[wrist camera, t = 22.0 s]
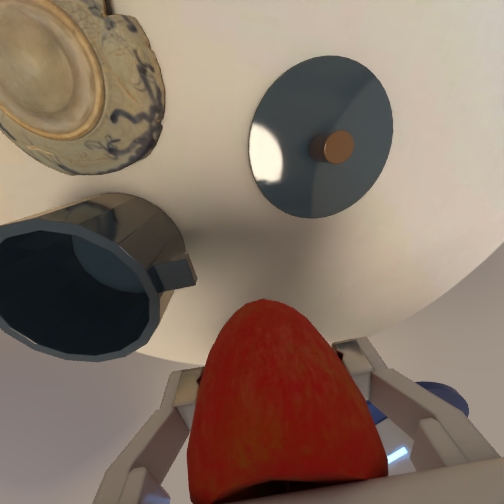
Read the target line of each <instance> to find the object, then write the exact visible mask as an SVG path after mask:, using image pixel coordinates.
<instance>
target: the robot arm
mask: <svg viewBox="0 0 504 504" xmlns="http://www.w3.org/2000/svg"><path fill="white" fill-rule="evenodd" d="M332 349H333V350H334V352H335V353H336V354H337V356H338V357H339V358H340V360H341V362H342V363H343V365H344V366H345V368H346V369H347V371H348V373H349V374H350V376H351V377H352V379H353V380H354V382H355V384H356V385H357V387H358V388H359V390H360V391H361V393H362V395H363V396H364V398H365V401H366V400H370V402H371V403H372V404H373V405H374V406H376V407H377V408H378V409H379V410H380V411H381V412H382V413H383V414H385V415H386V416H387V417H388V418H386V419H384V420H383V421H381V422H379V423H378V424H377V425H375V426H376V428H377V431H378V433H379V436H380V438H381V441H382V444H383V447H384V450H385V452H386V455H387V458H388V476H386V477H379V478H373V479H368V480H361V481H355V482H349V483H343V484H337V485H331V486H325V487H319V488H312V489H306V490H300V491H294V492H288V493H282V494H276V495H270V496H264V497H258V498H251V499H245V500H239V501H233V502H227V503H221V504H504V457H500V455H499V454H498V453H497V452H496V451H495V450H494V448H493V447H492V446H491V445H490V444H489V443H488V441H487V440H486V439H485V438H484V437H483V435H482V434H481V433H480V432H479V431H478V430H477V428H476V427H475V426H474V425H473V424H472V423H471V422H470V420H469V419H468V418H467V417H466V416H465V414H464V413H463V412H462V411H460V410H459V409H457V408H456V407H454V406H452V405H451V404H449V403H447V402H446V401H444V400H443V399H441V398H439V397H438V396H436V395H434V394H433V393H431V392H430V391H428V390H426V389H425V388H423V387H421V386H420V385H418V384H417V383H415V382H413V381H412V380H410V379H408V378H407V377H405V376H403V375H402V374H400V373H399V372H397V371H395V370H394V369H388V368H387V366H386V364H385V363H384V362H383V360H382V359H381V357H380V356H379V354H378V353H377V351H376V350H375V349H374V347H373V346H372V344H371V343H370V341H369V340H368V338H366V337H361V338H356V339H349V340H344V341H339V342H334V343H332ZM204 368H205V367H198V368H192V369H185V370H179V371H174V372H172V373H171V374H170V376H169V379H168V383H167V386H166V389H165V393H164V396H163V399H162V403H161V406H160V409H159V410H156V411H155V412H154V414H153V415H152V416H151V417H150V418H149V420H148V421H147V422H146V423H145V424H144V426H143V427H142V428H141V429H140V431H139V432H138V433H137V434H136V435H135V437H134V438H133V439H132V440H131V442H130V443H129V444H128V445H127V446H126V447H125V449H124V450H123V451H122V452H121V454H120V455H119V456H118V457H117V459H116V460H115V461H114V462H113V463H112V464H111V466H110V467H109V468H108V469H107V471H106V472H105V475H104V477H103V479H102V482H101V484H100V486H99V489H98V491H97V494H96V496H95V499H94V501H93V503H92V504H169V503H170V496H169V494H168V493H167V492H166V491H165V490H164V489H163V487H162V486H161V483H162V482H163V480H164V478H165V476H166V474H167V472H168V471H169V469H170V467H171V465H172V464H173V462H174V460H175V458H176V456H177V455H178V453H179V451H180V449H181V447H182V446H183V444H184V442H185V440H186V439H187V437H188V435H189V431H191V427H192V421H193V416H194V411H195V405H196V400H197V394H198V389H199V385H200V381H201V378H202V375H203V371H204Z"/></svg>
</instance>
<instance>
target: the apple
mask: <svg viewBox="0 0 504 504" xmlns="http://www.w3.org/2000/svg"><path fill="white" fill-rule="evenodd" d="M187 466H188V481H189V492H190V499H191V502H192V503H193V504H221V503H227V502H233V501H239V500H245V499H251V498H258V497H264V496H270V495H276V494H282V493H288V492H294V491H300V490H306V489H312V488H319V487H325V486H331V485H337V484H343V483H349V482H355V481H361V480H368V479H373V478H379V477H386V476H388V458H387V455H386V452H385V450H384V447H383V444H382V441H381V438H380V436H379V433H378V431H377V428H376V426H375V423H374V421H373V418H372V416H371V413H370V411H369V408H368V406H367V403H366V401H365V398H364V396H363V395H362V393H361V391H360V390H359V388H358V387H357V385H356V384H355V382H354V380H353V379H352V377H351V376H350V374H349V373H348V371H347V369H346V368H345V366H344V365H343V363H342V362H341V360H340V358H339V357H338V356H337V354H336V353H335V352H334V350H333V349H332V348H331V347H330V345H329V344H328V343H327V342H326V340H325V339H324V338H323V337H322V335H321V334H320V333H319V332H318V331H317V330H316V328H315V327H314V326H313V325H312V324H311V322H310V321H309V320H308V319H307V318H306V317H305V316H303V315H302V314H301V313H299V312H298V311H297V310H295V309H294V308H292V307H290V306H288V305H286V304H283V303H281V302H278V301H272V300H266V299H260V300H257V301H253V302H250V303H247V304H245V305H244V306H243V307H241V308H240V309H239V310H238V311H236V312H235V313H234V314H233V316H232V317H231V318H230V319H229V320H228V322H227V323H226V324H225V325H224V327H223V328H222V330H221V331H220V333H219V335H218V337H217V339H216V341H215V342H214V344H213V346H212V348H211V350H210V352H209V355H208V358H207V361H206V365H205V368H204V371H203V375H202V378H201V381H200V385H199V389H198V394H197V400H196V405H195V411H194V416H193V421H192V427H191V432H190V437H189V443H188V448H187Z"/></svg>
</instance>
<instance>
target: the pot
mask: <svg viewBox="0 0 504 504" xmlns="http://www.w3.org/2000/svg"><path fill="white" fill-rule="evenodd" d="M196 282H197V276H196V273H195V270H194V268H193V265H192V262H191V260H190V257H189V254H185V245H184V241H183V238H182V236H181V234H180V231H179V230H178V228H177V226H176V225H175V224H174V222H173V221H172V220H171V219H170V218H169V217H168V216H167V214H166V213H164V212H163V211H162V210H161V209H159V208H158V207H157V206H155V205H153V204H152V203H150V202H148V201H146V200H144V199H142V198H139V197H136V196H132V195H128V194H121V193H106V194H101V195H98V196H93V197H89V198H85V199H82V200H79V201H76V202H72V203H69V204H66V205H63V206H60V207H57V208H53V209H50V210H47V211H44V212H41V213H38V214H34V215H31V216H28V217H25V218H22V219H19V220H15V221H12V222H9V223H6V224H3V225H0V328H1V330H2V331H4V332H5V333H7V334H8V335H10V336H12V337H13V338H15V339H17V340H18V341H20V342H22V343H24V344H25V345H27V346H29V347H30V348H32V349H34V350H36V351H39V352H42V353H46V354H49V355H52V356H55V357H58V358H62V359H65V360H74V361H88V362H89V361H90V362H102V361H107V360H112V359H117V358H122V357H126V356H127V355H129V354H131V353H132V352H134V351H136V350H137V349H139V348H140V347H142V346H144V345H145V344H147V343H148V341H149V340H150V338H151V336H152V335H153V333H154V332H155V330H156V328H157V327H158V325H159V323H160V321H161V319H162V317H163V314H164V312H165V310H166V308H167V306H168V303H169V301H170V299H171V297H172V294H173V292H174V290H175V289H180V288H184V287H189V286H194V285H196Z"/></svg>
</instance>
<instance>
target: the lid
mask: <svg viewBox="0 0 504 504" xmlns="http://www.w3.org/2000/svg"><path fill="white" fill-rule="evenodd" d="M392 135H393V118H392V110H391V106H390V102H389V99H388V96H387V94H386V91H385V89H384V88H383V86H382V84H381V83H380V81H379V80H378V79H377V77H376V76H375V75H374V74H373V73H372V72H371V71H370V70H369V69H367V68H366V67H365V66H363V65H362V64H360V63H358V62H357V61H354V60H351V59H349V58H345V57H340V56H321V57H315V58H312V59H308V60H305V61H303V62H301V63H299V64H297V65H295V66H293V67H292V68H291V69H289V70H288V71H286V72H285V73H284V74H283V75H281V76H280V77H279V78H278V79H277V80H276V81H275V82H274V83H273V85H272V86H271V87H270V88H269V89H268V91H267V92H266V94H265V95H264V97H263V99H262V100H261V102H260V104H259V106H258V108H257V110H256V113H255V116H254V119H253V121H252V126H251V130H250V136H249V159H250V165H251V169H252V173H253V176H254V178H255V181H256V183H257V185H258V186H259V188H260V190H261V191H262V193H263V194H264V196H265V197H266V198H267V199H268V200H269V201H270V202H271V203H272V204H273V205H274V206H276V207H277V208H278V209H280V210H282V211H284V212H285V213H288V214H290V215H293V216H297V217H301V218H321V217H327V216H330V215H334V214H336V213H338V212H341V211H343V210H345V209H346V208H348V207H350V206H351V205H353V204H354V203H356V202H357V201H358V200H359V199H360V198H361V197H363V196H364V195H365V194H366V193H367V191H368V190H369V189H370V188H371V187H372V185H373V184H374V183H375V181H376V180H377V178H378V177H379V175H380V173H381V172H382V170H383V167H384V165H385V163H386V160H387V158H388V155H389V151H390V147H391V143H392Z"/></svg>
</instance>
